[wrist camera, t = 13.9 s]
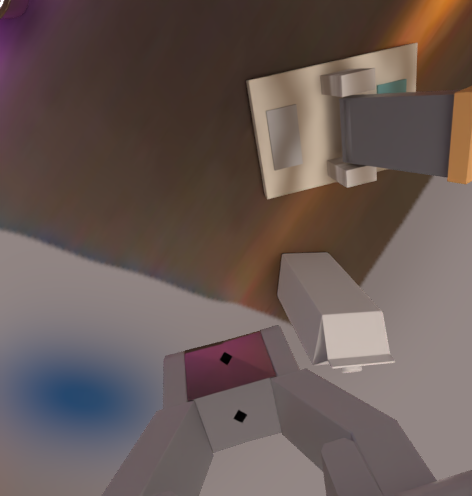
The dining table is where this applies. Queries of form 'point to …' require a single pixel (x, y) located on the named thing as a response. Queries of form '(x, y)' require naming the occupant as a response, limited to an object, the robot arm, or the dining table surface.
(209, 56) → the dining table surface
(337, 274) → the milk carton
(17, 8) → the cup with straw
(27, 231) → the dining table surface
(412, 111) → the rocker lever
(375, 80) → the switch base
